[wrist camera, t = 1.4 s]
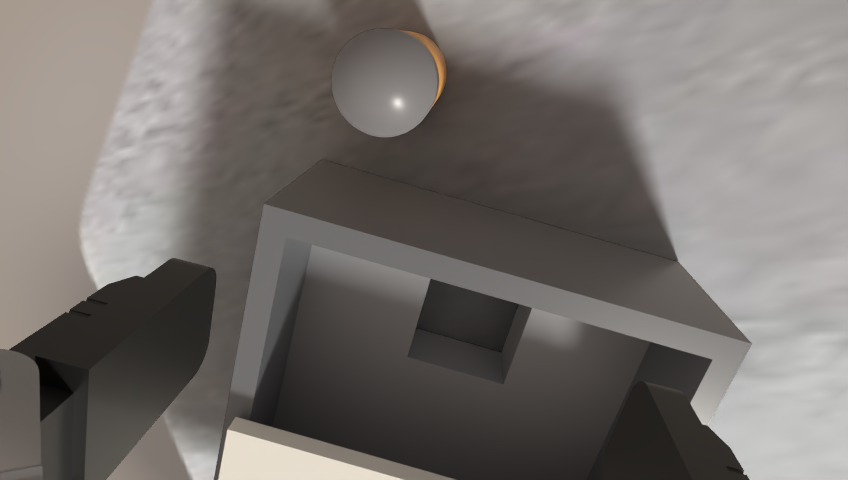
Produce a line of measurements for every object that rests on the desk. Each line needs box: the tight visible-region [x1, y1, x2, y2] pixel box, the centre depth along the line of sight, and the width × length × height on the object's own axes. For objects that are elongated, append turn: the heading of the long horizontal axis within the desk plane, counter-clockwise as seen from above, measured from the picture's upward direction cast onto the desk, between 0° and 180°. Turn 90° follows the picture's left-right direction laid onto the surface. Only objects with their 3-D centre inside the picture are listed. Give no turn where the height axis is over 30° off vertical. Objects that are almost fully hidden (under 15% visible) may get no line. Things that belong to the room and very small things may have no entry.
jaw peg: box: [331, 28, 447, 137], centre depth 23 cm, size 4×4×7 cm
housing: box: [214, 160, 752, 480], centre depth 27 cm, size 16×18×8 cm
